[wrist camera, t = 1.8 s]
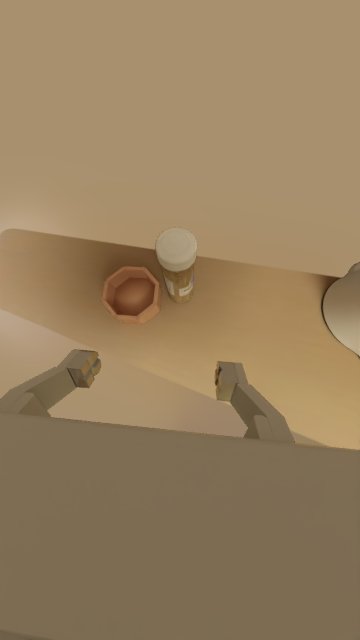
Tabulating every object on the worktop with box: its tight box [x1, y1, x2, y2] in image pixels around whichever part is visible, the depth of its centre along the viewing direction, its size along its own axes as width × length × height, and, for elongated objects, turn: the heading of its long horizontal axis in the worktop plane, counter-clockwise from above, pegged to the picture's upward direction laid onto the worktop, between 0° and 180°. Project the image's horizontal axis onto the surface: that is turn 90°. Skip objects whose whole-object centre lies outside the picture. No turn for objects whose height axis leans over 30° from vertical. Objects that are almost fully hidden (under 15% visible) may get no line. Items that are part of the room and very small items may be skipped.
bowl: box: [101, 266, 162, 324], centre depth 29 cm, size 9×9×4 cm
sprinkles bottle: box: [155, 227, 197, 303], centre depth 24 cm, size 5×5×13 cm
